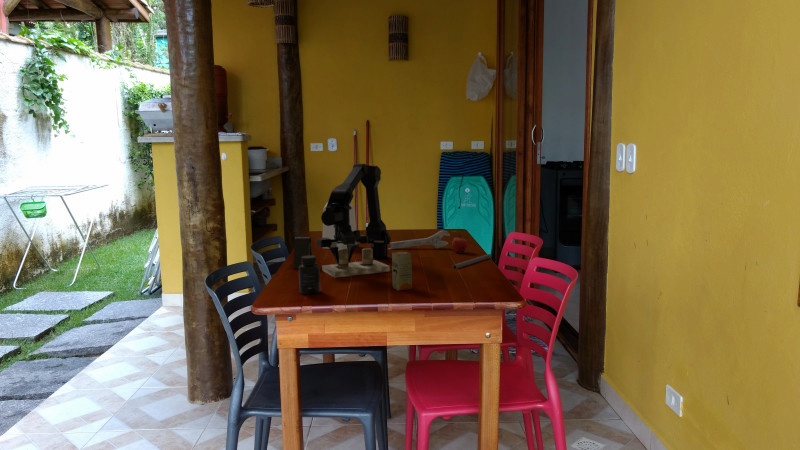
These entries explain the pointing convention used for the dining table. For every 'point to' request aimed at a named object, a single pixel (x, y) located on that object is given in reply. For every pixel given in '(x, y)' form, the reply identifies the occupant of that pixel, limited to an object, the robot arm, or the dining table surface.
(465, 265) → the metal rod
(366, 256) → the seated peg
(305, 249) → the phone stand
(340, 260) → the oak peg
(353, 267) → the birch board
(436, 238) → the wrench
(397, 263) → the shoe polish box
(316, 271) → the supplement bottle
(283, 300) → the dining table surface
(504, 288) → the dining table surface
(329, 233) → the milk
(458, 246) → the apple
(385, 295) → the dining table surface
